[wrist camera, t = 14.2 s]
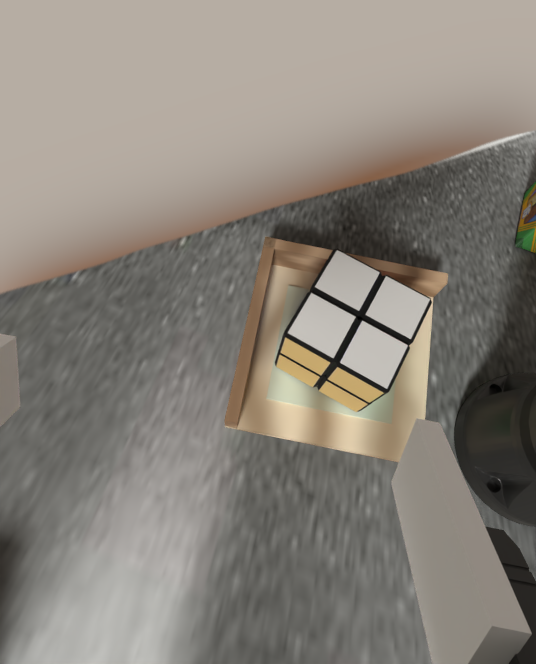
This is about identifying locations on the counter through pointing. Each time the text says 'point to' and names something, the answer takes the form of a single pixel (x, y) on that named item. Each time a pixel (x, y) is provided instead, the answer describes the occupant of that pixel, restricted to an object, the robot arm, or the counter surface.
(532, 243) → the chalk box
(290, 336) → the puzzle cube
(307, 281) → the walled corner board
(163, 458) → the counter surface
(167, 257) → the counter surface
